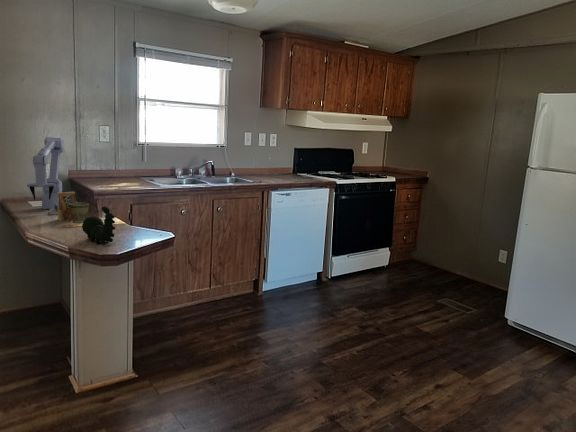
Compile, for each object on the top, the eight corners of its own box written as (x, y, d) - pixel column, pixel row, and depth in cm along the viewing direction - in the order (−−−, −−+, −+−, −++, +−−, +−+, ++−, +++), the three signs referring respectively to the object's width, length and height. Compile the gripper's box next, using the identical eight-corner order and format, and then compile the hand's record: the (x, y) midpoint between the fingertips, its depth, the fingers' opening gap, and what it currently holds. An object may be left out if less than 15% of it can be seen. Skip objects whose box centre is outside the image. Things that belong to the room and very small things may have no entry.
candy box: (74, 218, 264) (73, 191, 261) (76, 219, 261) (75, 192, 258) (57, 219, 259) (56, 192, 256) (59, 221, 255) (58, 193, 252)
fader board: (49, 214, 270) (49, 211, 269) (49, 212, 277) (49, 209, 276) (87, 213, 279) (87, 210, 278) (86, 210, 286) (86, 208, 285)
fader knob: (54, 211, 272) (54, 205, 271) (54, 209, 276) (54, 204, 276) (60, 211, 273) (59, 205, 273) (60, 209, 278) (59, 203, 277)
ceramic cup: (81, 224, 250) (81, 206, 248) (65, 222, 252) (64, 204, 250) (96, 219, 263) (95, 202, 261) (80, 218, 264) (80, 201, 263)
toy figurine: (120, 248, 214) (94, 233, 230) (121, 208, 210) (95, 196, 226) (100, 251, 208) (75, 235, 223) (101, 210, 203) (75, 197, 219)
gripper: (26, 176, 261) (27, 200, 263) (55, 176, 267) (56, 200, 270) (26, 175, 267) (28, 198, 269) (55, 175, 274) (56, 198, 276)
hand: (42, 199), depth 270 cm, fingers open, 7 cm apart
